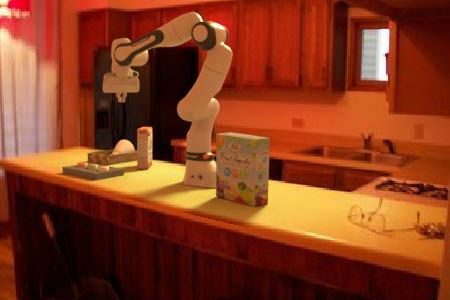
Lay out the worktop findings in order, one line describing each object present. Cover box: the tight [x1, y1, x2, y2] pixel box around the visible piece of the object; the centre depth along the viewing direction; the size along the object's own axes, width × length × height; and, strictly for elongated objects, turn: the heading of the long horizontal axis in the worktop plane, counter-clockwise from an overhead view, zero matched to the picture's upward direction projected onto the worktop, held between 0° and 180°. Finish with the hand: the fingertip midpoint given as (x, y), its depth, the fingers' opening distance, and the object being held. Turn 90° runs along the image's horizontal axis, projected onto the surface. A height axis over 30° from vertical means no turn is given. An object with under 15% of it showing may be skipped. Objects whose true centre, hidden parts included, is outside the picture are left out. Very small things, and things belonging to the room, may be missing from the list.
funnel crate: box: [87, 148, 137, 166], centre depth 279 cm, size 17×25×5 cm
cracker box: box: [136, 126, 153, 170], centre depth 259 cm, size 14×6×21 cm, turn 179°
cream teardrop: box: [109, 139, 136, 156], centre depth 279 cm, size 12×12×18 cm
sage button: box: [88, 163, 99, 169], centre depth 239 cm, size 5×5×4 cm
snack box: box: [215, 131, 271, 208], centre depth 191 cm, size 22×9×26 cm, turn 45°
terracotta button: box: [76, 161, 89, 168], centre depth 244 cm, size 5×5×4 cm
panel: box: [62, 162, 125, 181], centre depth 239 cm, size 26×16×3 cm, turn 53°
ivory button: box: [98, 165, 110, 172], centre depth 235 cm, size 5×5×4 cm
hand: (121, 102), depth 237 cm, fingers closed
